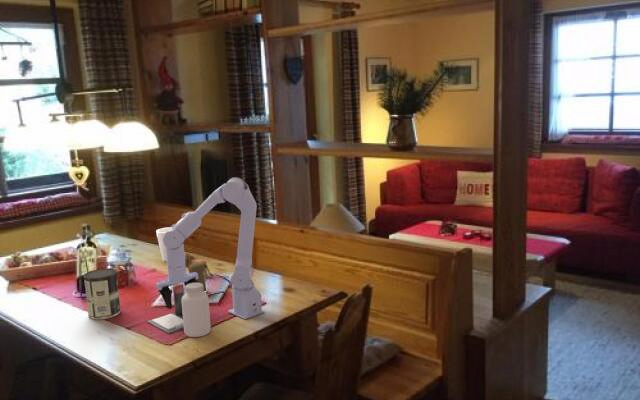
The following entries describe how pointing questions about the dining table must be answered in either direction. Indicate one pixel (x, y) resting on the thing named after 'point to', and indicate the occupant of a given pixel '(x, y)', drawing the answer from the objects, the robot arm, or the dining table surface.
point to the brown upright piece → (198, 269)
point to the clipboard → (168, 323)
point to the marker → (178, 298)
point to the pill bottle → (195, 311)
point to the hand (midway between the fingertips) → (179, 304)
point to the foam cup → (160, 236)
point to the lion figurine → (190, 260)
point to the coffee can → (102, 293)
